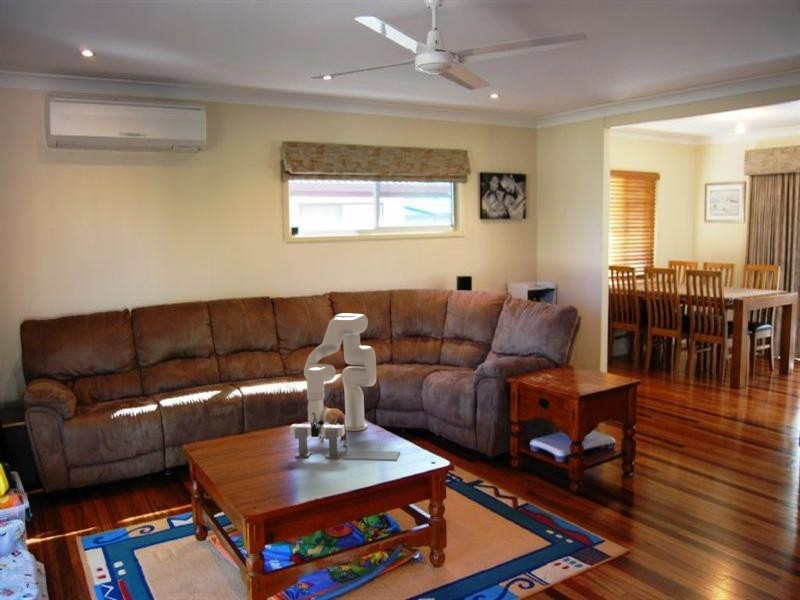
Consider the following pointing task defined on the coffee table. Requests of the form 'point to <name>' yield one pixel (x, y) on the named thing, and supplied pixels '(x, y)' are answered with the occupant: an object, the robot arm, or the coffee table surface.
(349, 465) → the coffee table surface
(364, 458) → the mat
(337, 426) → the rail
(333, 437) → the post
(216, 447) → the coffee table surface
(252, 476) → the coffee table surface
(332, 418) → the horse figurine
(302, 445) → the post
